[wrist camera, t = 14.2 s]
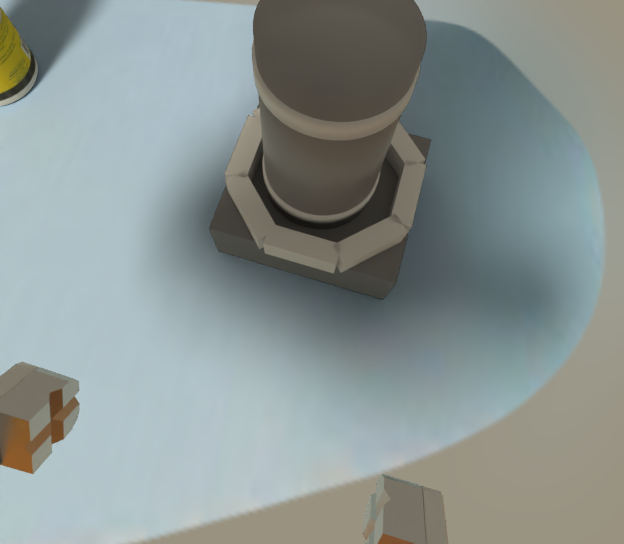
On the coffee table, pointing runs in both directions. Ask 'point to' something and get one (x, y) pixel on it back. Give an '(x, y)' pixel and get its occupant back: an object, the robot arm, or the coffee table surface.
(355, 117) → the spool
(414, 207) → the octagonal ring tray
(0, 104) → the supplement bottle
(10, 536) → the coffee table surface
